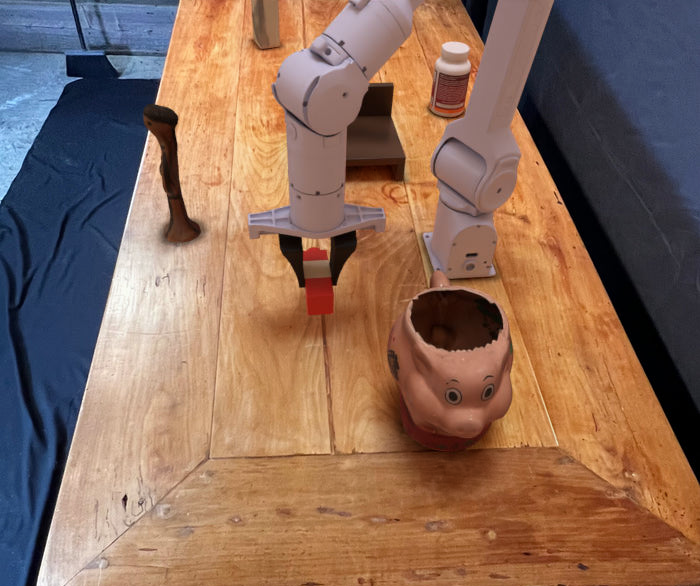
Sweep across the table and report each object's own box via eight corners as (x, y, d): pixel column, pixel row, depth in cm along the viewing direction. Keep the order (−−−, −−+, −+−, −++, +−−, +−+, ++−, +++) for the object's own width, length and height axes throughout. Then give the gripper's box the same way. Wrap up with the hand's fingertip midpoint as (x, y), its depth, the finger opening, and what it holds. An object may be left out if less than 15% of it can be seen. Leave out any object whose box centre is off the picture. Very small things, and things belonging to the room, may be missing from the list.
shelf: (403, 180, 97) (409, 126, 90) (300, 184, 95) (298, 129, 89) (388, 134, 106) (392, 82, 100) (294, 137, 105) (292, 84, 98)
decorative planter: (365, 342, 74) (372, 248, 63) (464, 332, 75) (487, 239, 65) (403, 491, 60) (420, 404, 50) (522, 475, 62) (563, 387, 52)
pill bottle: (470, 113, 113) (482, 50, 104) (443, 121, 110) (453, 57, 102) (448, 99, 116) (458, 37, 108) (422, 106, 114) (430, 44, 105)
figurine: (166, 214, 89) (140, 90, 76) (202, 213, 89) (182, 90, 76) (162, 247, 84) (132, 120, 71) (200, 245, 84) (177, 119, 71)
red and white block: (334, 314, 72) (334, 294, 69) (307, 316, 71) (306, 296, 69) (325, 262, 78) (326, 242, 75) (301, 263, 77) (300, 244, 75)
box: (252, 40, 130) (247, -29, 121) (272, 37, 132) (269, -31, 122) (261, 50, 127) (256, -20, 118) (281, 47, 129) (278, -23, 119)
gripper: (381, 155, 66) (373, 255, 76) (243, 160, 65) (254, 262, 75) (393, 193, 62) (383, 295, 72) (244, 200, 60) (255, 303, 70)
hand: (317, 281), depth 73 cm, fingers closed on red and white block, 3 cm apart
